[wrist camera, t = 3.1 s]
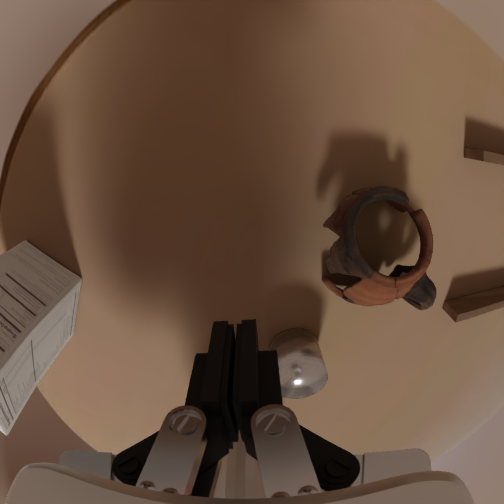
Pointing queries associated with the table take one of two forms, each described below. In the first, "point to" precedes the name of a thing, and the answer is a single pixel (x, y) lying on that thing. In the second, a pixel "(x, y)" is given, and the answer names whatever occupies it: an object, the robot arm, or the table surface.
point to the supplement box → (31, 323)
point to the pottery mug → (353, 263)
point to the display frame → (487, 299)
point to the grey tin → (299, 363)
